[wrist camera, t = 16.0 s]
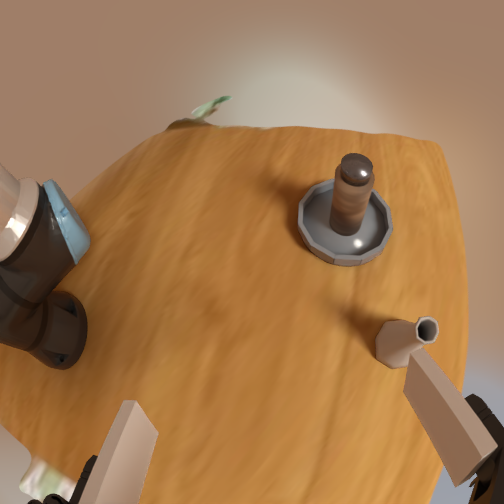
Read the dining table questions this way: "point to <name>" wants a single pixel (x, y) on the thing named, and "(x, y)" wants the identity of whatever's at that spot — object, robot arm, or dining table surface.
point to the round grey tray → (337, 246)
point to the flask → (404, 340)
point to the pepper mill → (351, 193)
